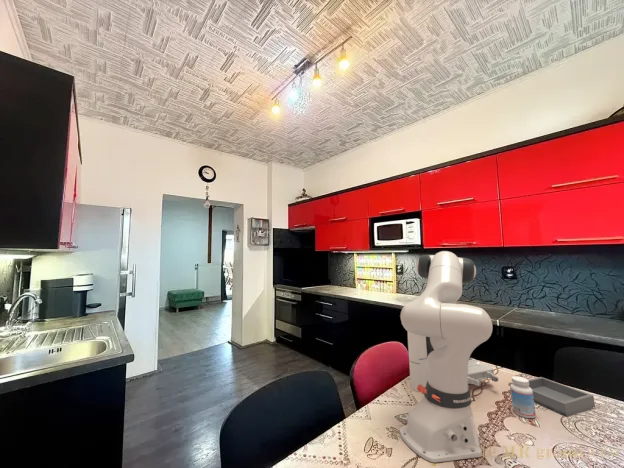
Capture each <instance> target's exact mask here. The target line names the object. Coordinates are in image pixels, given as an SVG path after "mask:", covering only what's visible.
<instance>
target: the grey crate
mask: <svg viewBox="0 0 624 468" xmlns="http://www.w3.org/2000/svg"><path fill="white" fill-rule="evenodd" d="M528 380H529V387H530V388H531V389H532V391H533V397H534V404H536V405H539V406H540V407H541V406H542V407H543V408H546V409H547V410H551V411H553V412H555V413H557V414H560V415H561V416H564V417H566V418H567V417H570V416H571V417H572V416H574V415H576V414H579V413H582V412H586V411H588V410H591V408H592V409H594V408H593V407H595V408H596V406H595V399H594V396H595V395H593V394H590V393H588V392H585V391H583V390H578V389H576V388H574V387H571V386H568V385H564V384H562V383H559V382H557V381H554V380H551V379H548V378H545V377H542V376H539V377H535V378H531V379H528Z"/></svg>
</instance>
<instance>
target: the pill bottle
mask: <svg viewBox="0 0 624 468" xmlns="http://www.w3.org/2000/svg"><path fill="white" fill-rule="evenodd" d="M529 380H530V379H528V378H526V377H523V376H518V375H514V376H511V382H512V383H510V386H509V387H510V388H509V390H510V397H511V405H512V407H511V408H512V410H513V411H512V412H514V413H515V414H516V415H517V416H520V417H522V418H526V419H534V418H536V407H535V403H534V397H533V391H532V389H531V388H530V387H529Z"/></svg>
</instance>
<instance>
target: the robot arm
mask: <svg viewBox="0 0 624 468" xmlns="http://www.w3.org/2000/svg"><path fill="white" fill-rule="evenodd" d="M476 268H477V267H476V265H475V262H474V261H473V260H472V259H470V258H467V257H458V255H456V254H455V253H453V252H452V251H448V250H441V251H439V252H436V253H435V254H422V255H421V256H419V257H418V259H417V262H416V271H417V275H419V277H421V278H422V279H426V280H427V283H426V287H425V289H424V290H423V292H422V293H421V294H419V295H418V296H417V297H416V298H415V299H414V300H413V299H412V300H411V301H409V302H406V303H404V305H403V307H402V308H401V311H400V321H401V325H402V326H403V328H404V329H405V331H408V332H410V333H413V334H416V335H420V336H425V337H426V348H427V372H428V381H427V384H426V388H425V387H423V386H422V385H420V384H419V385H418V386H417V387H418V388H417V390H418V391H419V393H421V394H423V396H422V397H421V399H419V401H418V402H417V403H416V404H415V405H414V406H413V407H412V408H411V409H410V411H409V412H408V413H407V421H406V422H407V424H405V425H403V426H401V427H400V428H399V435H400V437H401V439H402V441H403V442H404V443H405V444H406V445H407V446H408V447H409V448H410V450H412V451H413V452H414V453H415V454H416V455H418V456H419V457H421V458H422V459H425V460H426V461H427V462H429V463H430V462H431V463H441V462H442V463H443V462H450V461H457V460H458V461H459V460H465V459H467V460H468V459H471V458H472V459H474V458H481V457H482V456H483V452H482V449H481V447H480V445H481V443H480V439H479V436H478V433H477V428H476V423H475V419H474V416H473V411H472V408H471V404H472V395H471V388H470V387H469V384H471V385H475V386H477V387H478V386H479V387H480V386H481V384H482V380H487V379H491V381H492V382H495V383H496V382H499V381H500V380H499V377H498V376H497V375H495V371H494V368H492V366H489V365H487V364H486V363H483V362H481V361H476V360H475V358H472V357H471V355H472V353H473V351H474V350H475V349H476V348H477V347H479V346H480V345H481V344H483V343H484V342H487V341H488V340H489V339H490V337H492V333H493V321H492V318H491V317H490V315H489V314H488V312H486V310H485V309H483V308H482V307H479V306H475V305H470V304H467V303H466V304H465V303H464V304H463V303H456V302H457V301H458V300H459V299H460V298H461V297H462V295H463V284H470V283H472V282H473V281H474V279H475V277H476V275H477V269H476ZM408 332H407V333H408ZM418 391H417V392H418Z"/></svg>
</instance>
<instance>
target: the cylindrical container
mask: <svg viewBox="0 0 624 468" xmlns="http://www.w3.org/2000/svg"><path fill="white" fill-rule="evenodd" d="M407 346H408V348H407V349H408V358H409V359H408V362H409V364H408V365H409V380H410V389H412V390H413V391H416V392H419V391H418V390H417V388H418V387H417V386H418V385H419V384H420V385H422V386H423V387H425V388H426V384H427V381H428V372H427V348H426V337H425V336H420V335H416V334H413V333H410V332H408V331H407ZM419 393H420V392H419Z"/></svg>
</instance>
